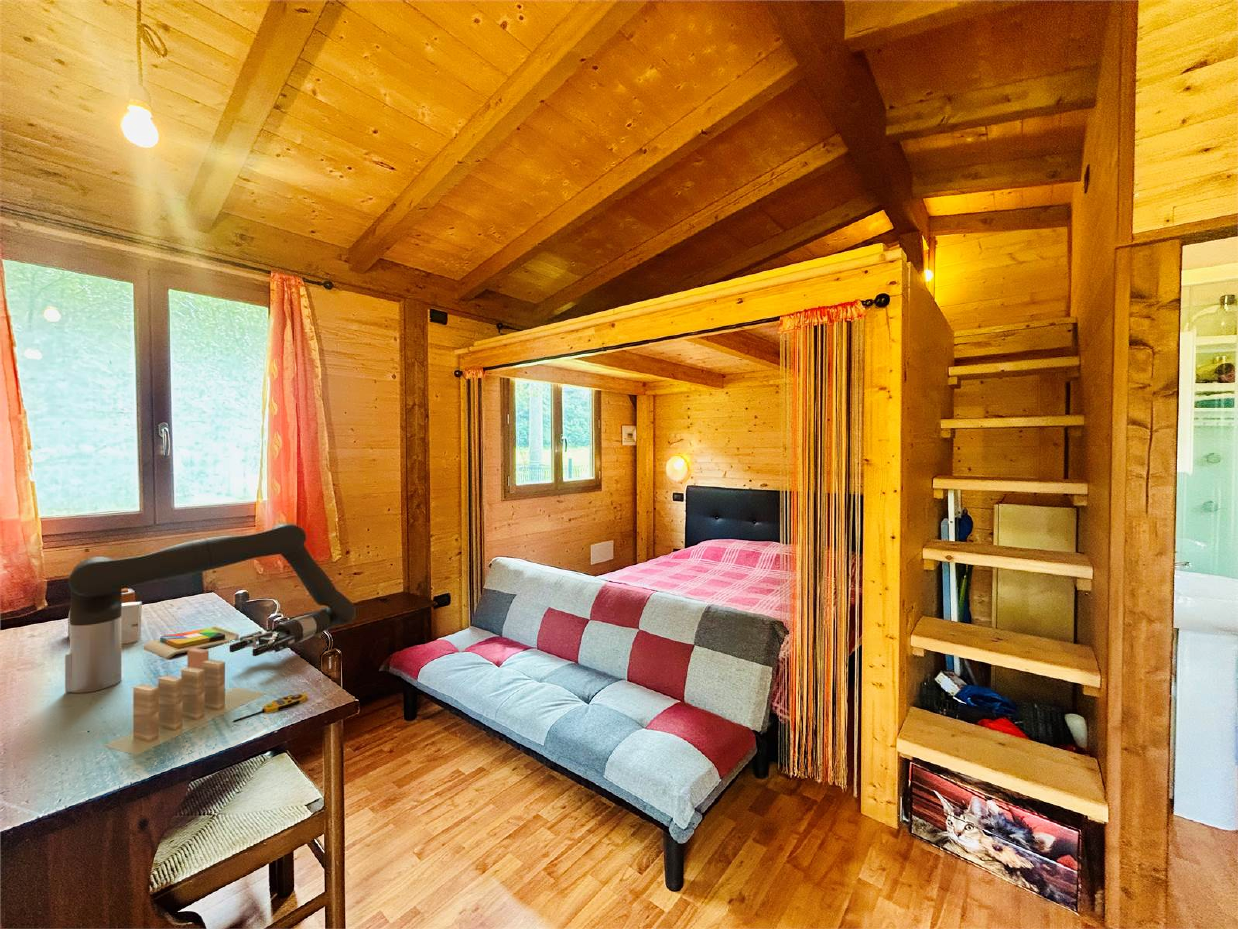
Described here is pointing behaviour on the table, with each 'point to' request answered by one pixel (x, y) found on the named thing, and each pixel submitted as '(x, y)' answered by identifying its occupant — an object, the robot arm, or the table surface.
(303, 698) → the yellow screwdriver
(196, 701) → the domino
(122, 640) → the skincare box
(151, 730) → the domino
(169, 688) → the domino
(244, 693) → the mat
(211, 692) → the domino
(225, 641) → the wooden puzzle
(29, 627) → the table surface
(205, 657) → the domino
